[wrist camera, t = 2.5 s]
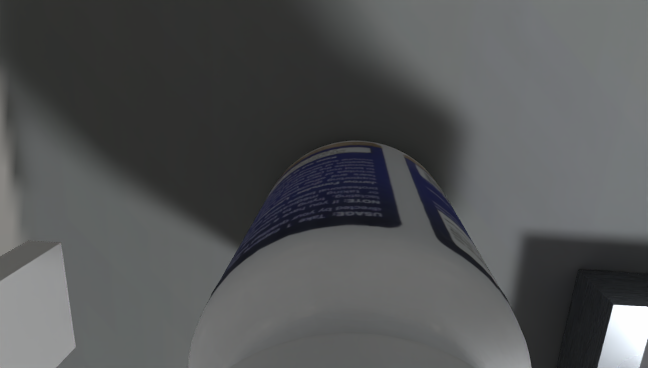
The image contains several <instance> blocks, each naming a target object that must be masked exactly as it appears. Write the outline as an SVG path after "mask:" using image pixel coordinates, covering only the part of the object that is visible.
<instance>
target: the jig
mask: <svg viewBox="0 0 648 368" xmlns="http://www.w3.org/2000/svg"><path fill="white" fill-rule="evenodd" d="M647 339H648V274H639V273H623V272H608V271H592V270H578V275H577V279H576V284H575V288H574V293H573V297H572V302H571V306H570V310H569V315H568V319H567V324H566V328H565V333H564V337H563V342H562V346H561V351H560V355H559V359H558V364H557V368H639V367H640V364H641V360H642V357H643V353H644V349H645V346H646V342H647Z"/></svg>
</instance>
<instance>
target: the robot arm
mask: <svg viewBox="0 0 648 368" xmlns="http://www.w3.org/2000/svg"><path fill="white" fill-rule="evenodd" d="M75 347H76V346H75V339H74V332H73V325H72V318H71V311H70V304H69V297H68V289H67V282H66V275H65V268H64V261H63V254H62V247H61V243H60V242H44V241H27V242H25V243H23V244H21V245H20V246H18V247H16V248H14V249H13V250H11V251H9V252H7V253H5V254H4V255H2V256H0V368H56V367H57V366H58V365H59V364H60V363H61V362H62V361H63V360H64V359H65V358H66V357H67V355H68V354H69V353H70V352H71V351H72V350H73V349H74V348H75ZM639 368H648V339H647V342H646V346H645V349H644V353H643V357H642V360H641V364H640V367H639Z"/></svg>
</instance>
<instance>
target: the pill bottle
mask: <svg viewBox="0 0 648 368" xmlns="http://www.w3.org/2000/svg"><path fill="white" fill-rule="evenodd" d="M188 368H532V367H531V361H530V355H529V351H528V347H527V344H526V340H525V338H524V336H523V333H522V331H521V328H520V326H519V324H518V321H517V319H516V317H515V315H514V313H513V310H512V308H511V306H510V304H509V302H508V300H507V298H506V297H505V295H504V294H503V292H502V291H501V289H500V288H499V286H498V284H497V282H496V280H495V279H494V277H493V276H492V274H491V272H490V271H489V269H488V267H487V266H486V264H485V262H484V261H483V259H482V257H481V255H480V253H479V252H478V250H477V249H476V247H475V245H474V243H473V242H472V240H471V238H470V237H469V235H468V233H467V231H466V230H465V228H464V226H463V225H462V223H461V221H460V220H459V218H458V216H457V215H456V213H455V211H454V210H453V208H452V206H451V204H450V203H449V201H448V199H447V198H446V196H445V194H444V193H443V191H442V190H441V188H440V187H439V185H438V184H437V182H436V181H435V180H434V178H433V177H432V176H431V175H430V174H429V172H428V171H427V170H426V169H425V168H424V167H423V166H422V165H421V164H419V163H418V162H417V161H416V160H414V159H413V158H411V157H410V156H408V155H407V154H405V153H403V152H401V151H399V150H397V149H395V148H392V147H390V146H387V145H383V144H379V143H375V142H368V141H343V142H337V143H332V144H329V145H326V146H323V147H320V148H317V149H315V150H313V151H311V152H309V153H307V154H306V155H304V156H303V157H301V158H300V159H298V160H297V161H296V162H294V163H293V164H292V165H291V166H290V167H289V168H288V169H287V170H286V171H285V172H284V173H283V174H282V176H281V177H280V178H279V179H278V181H277V182H276V184H275V185H274V187H273V188H272V190H271V191H270V193H269V195H268V197H267V199H266V201H265V203H264V204H263V206H262V208H261V210H260V211H259V213H258V215H257V217H256V218H255V220H254V222H253V224H252V225H251V227H250V229H249V231H248V232H247V234H246V236H245V238H244V239H243V241H242V243H241V245H240V246H239V248H238V250H237V252H236V253H235V255H234V257H233V258H232V260H231V262H230V264H229V265H228V267H227V269H226V271H225V272H224V274H223V276H222V278H221V280H220V281H219V283H218V285H217V286H216V288H215V289H214V291H213V292H212V294H211V297H210V299H209V301H208V302H207V304H206V306H205V308H204V310H203V312H202V315H201V317H200V320H199V322H198V325H197V328H196V330H195V333H194V336H193V340H192V344H191V348H190V354H189V362H188Z"/></svg>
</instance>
